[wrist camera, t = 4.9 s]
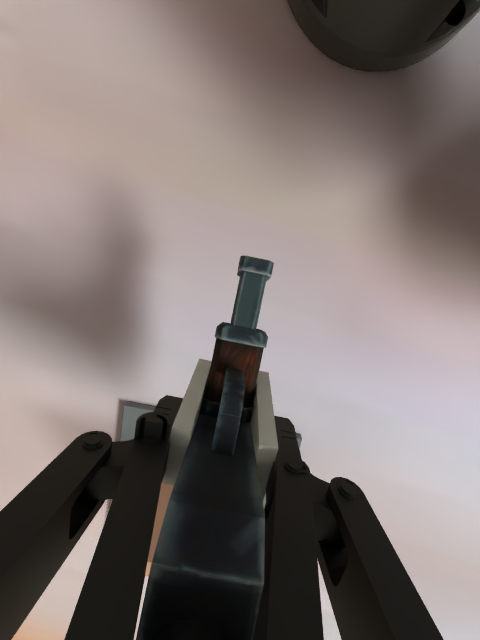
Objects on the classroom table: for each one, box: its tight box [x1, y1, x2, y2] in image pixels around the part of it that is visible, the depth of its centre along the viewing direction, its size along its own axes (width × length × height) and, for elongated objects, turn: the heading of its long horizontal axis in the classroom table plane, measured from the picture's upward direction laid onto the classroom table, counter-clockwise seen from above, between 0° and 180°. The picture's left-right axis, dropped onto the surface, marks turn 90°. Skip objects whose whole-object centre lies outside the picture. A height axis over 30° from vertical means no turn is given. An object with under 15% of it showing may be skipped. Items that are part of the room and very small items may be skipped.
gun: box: [136, 256, 274, 640], centre depth 12 cm, size 3×17×15 cm
